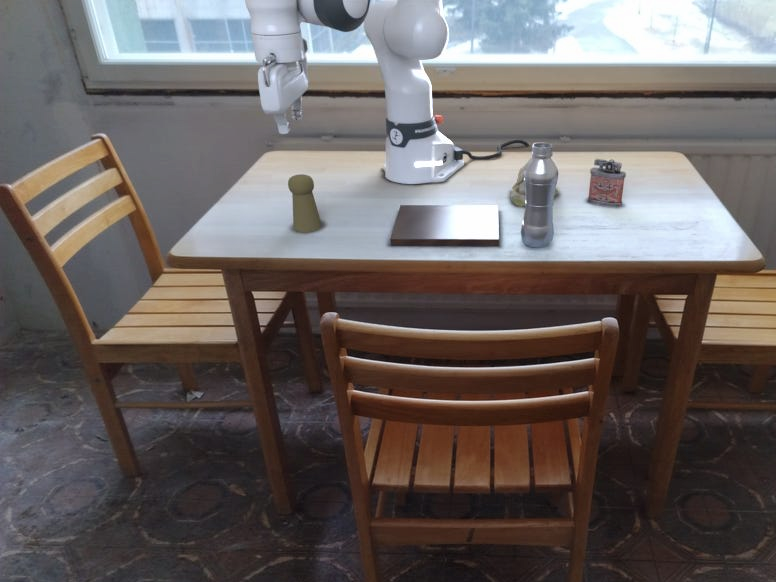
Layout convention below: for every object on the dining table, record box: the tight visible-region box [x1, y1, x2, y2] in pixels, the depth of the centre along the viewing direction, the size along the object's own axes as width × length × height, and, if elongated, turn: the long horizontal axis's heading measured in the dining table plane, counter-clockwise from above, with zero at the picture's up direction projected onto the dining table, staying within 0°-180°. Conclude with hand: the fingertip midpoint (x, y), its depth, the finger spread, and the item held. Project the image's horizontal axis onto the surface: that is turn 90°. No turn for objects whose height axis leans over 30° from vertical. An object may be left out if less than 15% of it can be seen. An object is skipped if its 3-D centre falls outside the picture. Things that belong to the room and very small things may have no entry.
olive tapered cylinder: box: [287, 173, 323, 233], centre depth 137 cm, size 6×6×11 cm
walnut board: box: [389, 204, 500, 248], centre depth 139 cm, size 22×18×2 cm
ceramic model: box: [510, 155, 559, 207], centre depth 151 cm, size 14×11×10 cm
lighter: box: [587, 158, 627, 208], centre depth 148 cm, size 8×3×10 cm, turn 65°
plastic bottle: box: [520, 141, 559, 248], centre depth 127 cm, size 6×7×20 cm
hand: (291, 126), depth 128 cm, fingers open, 8 cm apart
